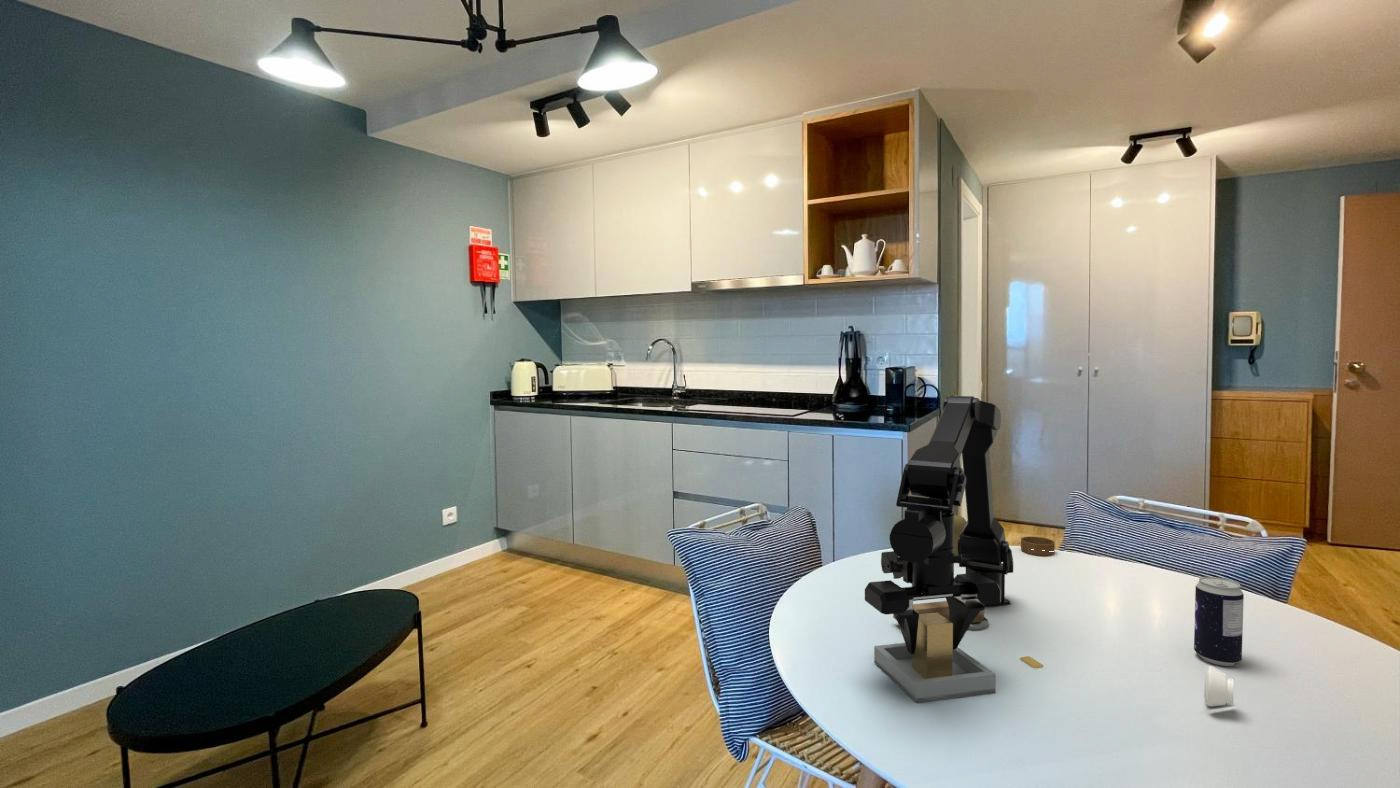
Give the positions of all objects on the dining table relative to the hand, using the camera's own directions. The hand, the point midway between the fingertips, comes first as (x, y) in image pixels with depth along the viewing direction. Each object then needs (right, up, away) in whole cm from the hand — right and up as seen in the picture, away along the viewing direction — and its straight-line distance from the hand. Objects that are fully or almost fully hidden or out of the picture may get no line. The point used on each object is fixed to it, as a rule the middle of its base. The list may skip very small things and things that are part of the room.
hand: (932, 650), depth 94 cm
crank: (+8, -2, +18) cm, 20 cm away
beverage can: (+45, -3, +5) cm, 45 cm away
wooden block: (0, -3, 0) cm, 3 cm away
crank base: (+15, -3, +13) cm, 20 cm away
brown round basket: (+44, -1, +60) cm, 74 cm away
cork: (+24, -1, +52) cm, 57 cm away
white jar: (+35, -4, -9) cm, 36 cm away
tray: (0, -4, 0) cm, 4 cm away
